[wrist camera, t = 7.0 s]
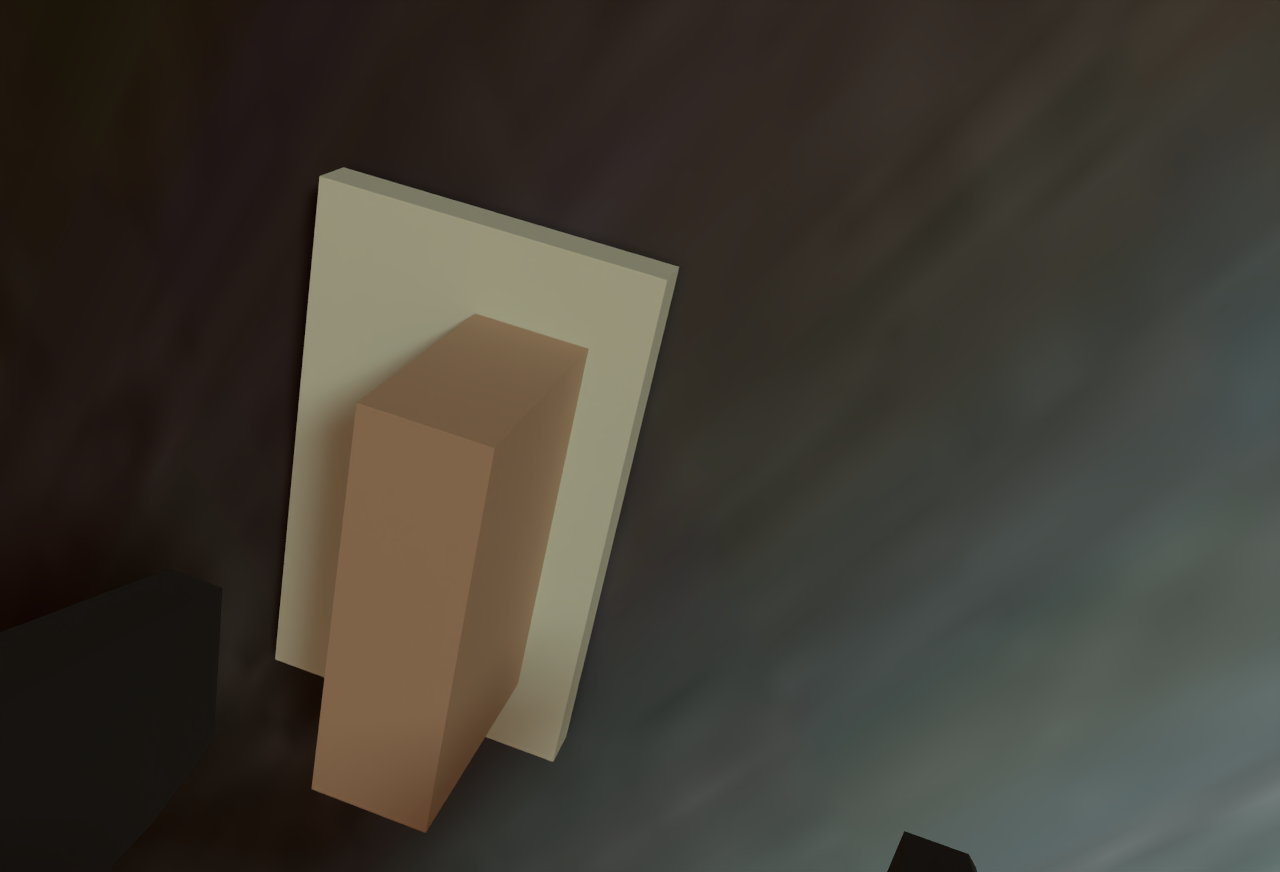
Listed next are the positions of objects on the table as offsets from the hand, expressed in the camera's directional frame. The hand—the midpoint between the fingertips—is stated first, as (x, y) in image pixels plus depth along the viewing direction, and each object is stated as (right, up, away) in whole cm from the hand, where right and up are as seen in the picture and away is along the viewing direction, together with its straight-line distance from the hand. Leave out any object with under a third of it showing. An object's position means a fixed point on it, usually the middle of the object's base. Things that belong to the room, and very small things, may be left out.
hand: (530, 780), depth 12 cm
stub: (-2, +3, +10) cm, 11 cm away
